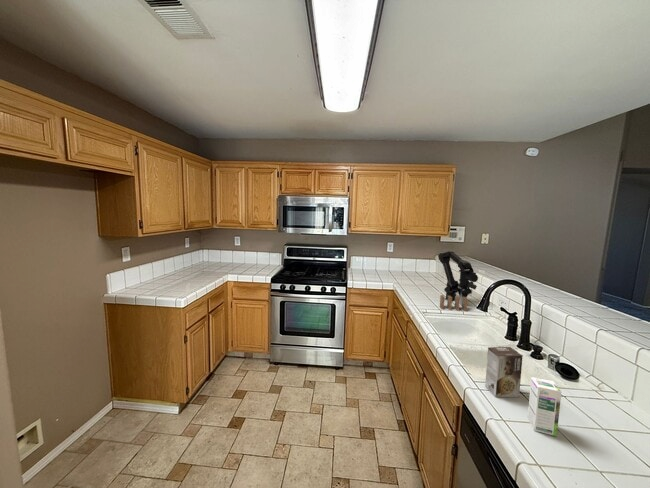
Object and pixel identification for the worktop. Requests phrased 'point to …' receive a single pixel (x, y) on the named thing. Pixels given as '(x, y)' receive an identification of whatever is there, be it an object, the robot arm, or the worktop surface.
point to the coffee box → (503, 371)
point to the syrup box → (544, 406)
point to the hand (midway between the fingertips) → (462, 299)
